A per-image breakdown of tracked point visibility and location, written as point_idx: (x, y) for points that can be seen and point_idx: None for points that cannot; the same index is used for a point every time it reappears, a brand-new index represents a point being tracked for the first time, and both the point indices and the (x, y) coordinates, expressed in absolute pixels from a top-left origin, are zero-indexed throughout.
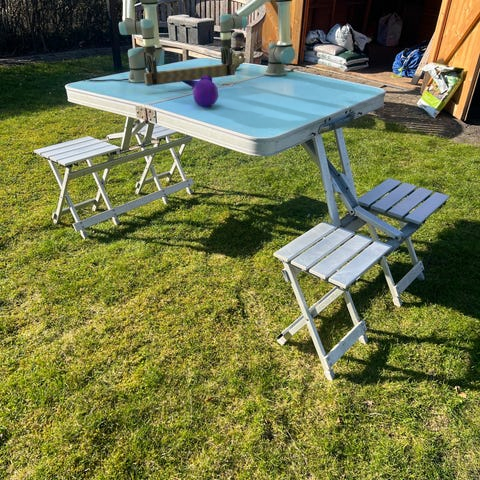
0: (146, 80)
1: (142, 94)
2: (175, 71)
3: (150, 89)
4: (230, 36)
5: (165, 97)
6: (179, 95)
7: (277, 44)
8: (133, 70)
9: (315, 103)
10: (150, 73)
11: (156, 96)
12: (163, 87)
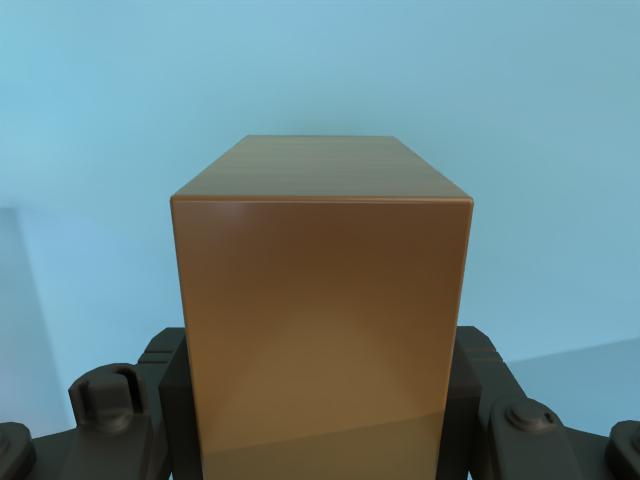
0: (248, 152)
1: (356, 47)
2: None
3: (587, 264)
4: None
5: (7, 261)
6: (54, 418)
7: None
8: None
9: None
10: (223, 373)
11: (116, 184)
12: (566, 421)
